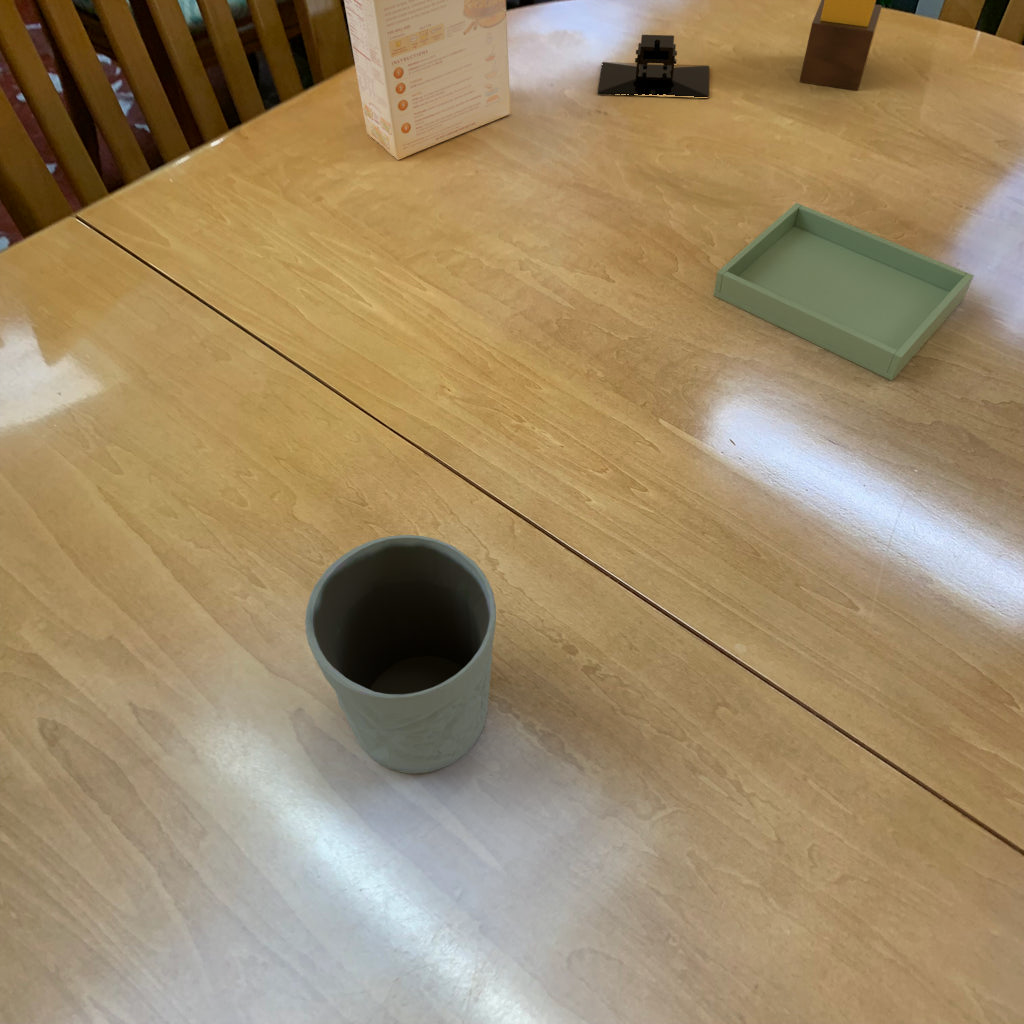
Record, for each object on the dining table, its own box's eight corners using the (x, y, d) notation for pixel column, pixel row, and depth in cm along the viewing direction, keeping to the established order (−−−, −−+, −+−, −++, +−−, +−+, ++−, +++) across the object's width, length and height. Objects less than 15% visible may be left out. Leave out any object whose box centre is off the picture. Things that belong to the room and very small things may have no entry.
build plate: (597, 96, 104) (598, 54, 101) (602, 64, 109) (603, 23, 105) (708, 99, 103) (714, 57, 99) (708, 67, 107) (714, 25, 104)
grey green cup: (347, 646, 61) (310, 539, 52) (499, 634, 62) (490, 526, 52) (340, 795, 55) (297, 704, 46) (509, 781, 55) (501, 688, 46)
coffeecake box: (477, 90, 106) (464, -104, 91) (513, 115, 102) (506, -83, 87) (363, 134, 101) (330, -64, 85) (397, 162, 97) (368, -39, 82)
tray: (963, 299, 81) (974, 275, 79) (891, 381, 75) (901, 357, 73) (790, 226, 88) (796, 202, 86) (712, 295, 82) (717, 271, 80)
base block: (866, 63, 107) (882, 4, 102) (857, 91, 103) (874, 31, 98) (809, 55, 108) (822, -3, 103) (799, 82, 105) (811, 23, 100)
